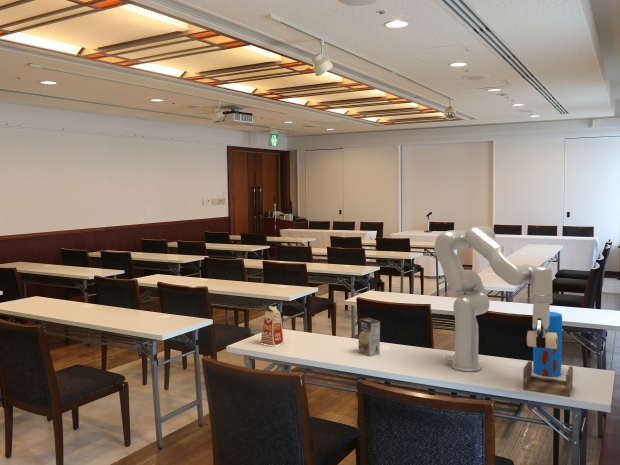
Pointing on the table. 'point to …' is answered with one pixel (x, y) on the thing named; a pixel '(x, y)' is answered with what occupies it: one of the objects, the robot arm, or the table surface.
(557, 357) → the thermos
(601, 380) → the table surface
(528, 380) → the cradle
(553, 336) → the kraft roll
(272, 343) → the milk carton
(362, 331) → the coffee box
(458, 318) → the robot arm
